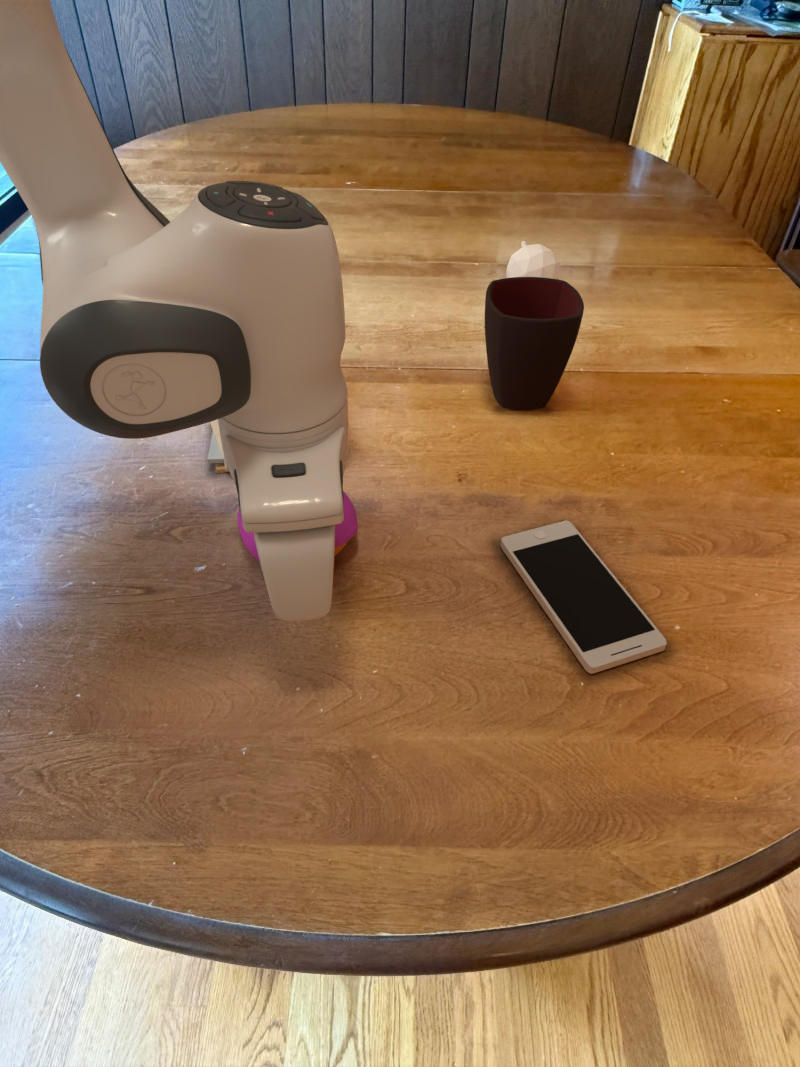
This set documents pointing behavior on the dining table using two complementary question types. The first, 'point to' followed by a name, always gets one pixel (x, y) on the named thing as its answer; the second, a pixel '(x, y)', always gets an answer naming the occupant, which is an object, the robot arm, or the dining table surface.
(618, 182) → the dining table surface
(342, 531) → the donut
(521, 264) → the ornament
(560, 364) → the cup
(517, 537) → the smartphone
